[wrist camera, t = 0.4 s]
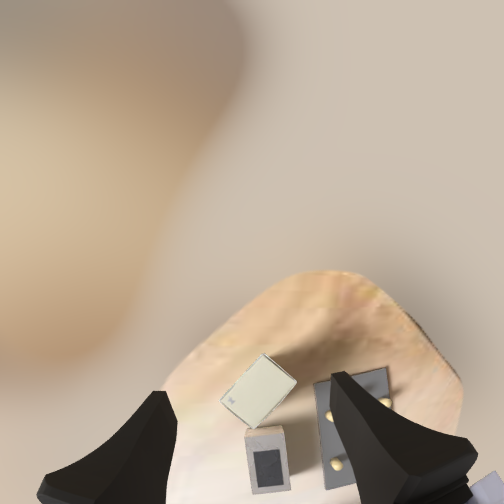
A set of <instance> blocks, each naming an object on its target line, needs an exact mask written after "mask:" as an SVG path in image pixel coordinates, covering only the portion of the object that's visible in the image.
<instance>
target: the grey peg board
mask: <svg viewBox="0 0 504 504" xmlns="http://www.w3.org/2000/svg"><path fill="white" fill-rule="evenodd" d="M351 377H352V378H353V379H354V380H355V381H356V382H357V383H358V384H359V385H360V386H362V387H363V388H364V389H365V390H366V391H367V392H369V393H370V394H371V395H372V396H373V397H375V398H376V399H377V400H379V401H380V402H381V403H382V404H384V405H385V406H387V407H388V408H390V409H391V407H390V406H391V405H392V401H391V399H390V397H389V389H388V381H387V373H386V368H382V369H378V370H374V371H370V372H366V373H362V374H358V375H353V376H351ZM330 386H331V380H330V381H324V382H319V383H314V392H315V399H316V408H317V416H318V425H319V434H320V443H321V452H322V463H323V473H324V484H325V489H326V490H330V489H334V488H338V487H342V486H346V485H350V484H354V483H356V479H355V476H354V472H353V469H352V466H351V463H350V460H349V458H348V456H347V453H346V451H345V448H344V446H343V444H342V441H341V439H340V437H339V434H338V432H337V430H336V427H335V425H334V421H333V418H332V414H331V410H330V406H329V403H330Z"/></svg>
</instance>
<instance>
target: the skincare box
mask: <svg viewBox="0 0 504 504" xmlns="http://www.w3.org/2000/svg"><path fill="white" fill-rule="evenodd" d="M296 383H297V381H296V380H295V379H294V378H293V377H292V376H291V375H289V374H288V373H287V372H286V371H285V370H284V369H283V368H282V367H280V366H279V365H278V364H277V363H276V362H275V361H273V360H272V359H271V358H270V357H269V356H267V355H266V354H265V353H263V354H261V355H260V356H259V357H258V359H257V360H256V361H255V362H254V363H253V364H252V365H251V366H250V367H249V368H248V369H247V370H246V372H245V373H244V374H243V375H242V376H241V377H240V378H239V379H238V380H237V381H236V382H235V383H234V384H233V386H232V387H231V388H230V389H229V390H228V391H227V392H226V393H225V394H224V395H223V396H222V397H221V398H220V399H219V402H220V403H221V404H222V405H224V406H225V407H226V408H227V409H228V410H229V411H230V412H231V413H233V414H234V415H235V416H236V417H237V418H239V419H240V420H241V421H242V422H244V423H245V424H246V425H248V426H249V427H250V428H252V429H255V428H256V427H257V426H258V425H260V424H261V423H262V422H263V421H264V420H265V419H266V418H267V417H268V416H269V415H270V414H271V413H272V412H273V410H274V409H275V408H276V407H277V406H278V405H279V404H280V403H281V402H282V400H283V399H284V398H285V397H286V396H287V395H288V393H289V392H290V391H291V390H292V388H293V387H294V386H295V385H296Z"/></svg>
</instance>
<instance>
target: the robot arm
mask: <svg viewBox="0 0 504 504" xmlns="http://www.w3.org/2000/svg"><path fill="white" fill-rule="evenodd" d="M329 406H330V410H331V414H332V418H333V421H334V425H335V427H336V430H337V432H338V434H339V437H340V439H341V441H342V444H343V446H344V448H345V451H346V453H347V456H348V458H349V460H350V463H351V466H352V469H353V472H354V476H355V479H356V483H357V487H358V491H359V495H360V499H361V504H504V483H503V481H502V480H501V478H500V477H499V476H498V474H497V472H496V471H493V472H491V473H490V474H488V475H487V476H485V477H484V478H482V479H481V480H479V481H478V482H476V483H475V484H473V485H472V486H471V487H470V488H469V487H468V485H467V484H466V483H468V481H469V479H468V478H467V476H466V474H467V472H468V471H469V470H470V468H471V467H472V466H473V464H474V463H475V461H476V460H477V457H478V453H477V451H476V450H475V448H474V447H473V445H472V444H471V443H470V441H469V440H468V439H467V438H462V437H457V436H453V435H448V434H444V433H441V432H437V431H434V430H431V429H429V428H426V427H424V426H421V425H419V424H417V423H414V422H412V421H410V420H408V419H406V418H404V417H403V416H401V415H399V414H397V413H396V412H394V411H393V410H391V409H390V408H388V407H387V406H385V405H384V404H382V403H381V402H380V401H379V400H377V399H376V398H375V397H373V396H372V395H371V394H370V393H369V392H367V391H366V390H365V389H364V388H363V387H362V386H360V385H359V384H358V383H357V382H356V381H355V380H354V379H353V378H352V377H351V376H350V375H349V374H348V373H347V372H345V371H342V372H337V373H333V374H331V386H330V403H329ZM177 422H178V421H177V419H176V416H175V414H174V411H173V409H172V406H171V404H170V401H169V398H168V396H167V393H166V391H153V392H152V393H151V394H150V395H149V396H148V397H147V399H146V400H145V401H144V402H143V404H142V405H141V406H140V407H139V408H138V409H137V411H136V412H135V413H134V414H133V415H132V416H131V418H130V419H129V420H128V421H127V422H126V423H125V424H124V425H123V426H122V427H121V428H120V429H119V430H118V431H117V432H116V433H115V434H114V435H113V436H112V437H111V438H110V439H109V440H107V441H106V442H105V443H104V444H102V445H101V446H100V447H99V448H97V449H96V450H94V451H93V452H91V453H90V454H88V455H87V456H85V457H84V458H82V459H80V460H79V461H77V462H75V463H73V464H71V465H69V466H67V467H65V468H62V469H60V470H57V471H55V472H52V473H49V474H46V475H45V477H44V479H43V481H42V483H41V486H40V488H39V490H38V492H37V498H38V499H39V501H40V502H41V503H42V504H166V489H167V481H168V475H169V471H170V466H171V461H172V457H173V452H174V448H175V443H176V436H177Z"/></svg>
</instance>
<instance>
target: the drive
mask: <svg viewBox="0 0 504 504" xmlns="http://www.w3.org/2000/svg"><path fill="white" fill-rule="evenodd" d="M244 438H245V446H246V453H247V460H248V467H249V474H250V481H251V488H252V494H264V493H273V492H282V491H289V490H291V485H290V477H289V468H288V460H287V451H286V443H285V435H284V431H283V428H282V425H278V426H270V427H261V428H255V429H246V433H245V437H244Z"/></svg>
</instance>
